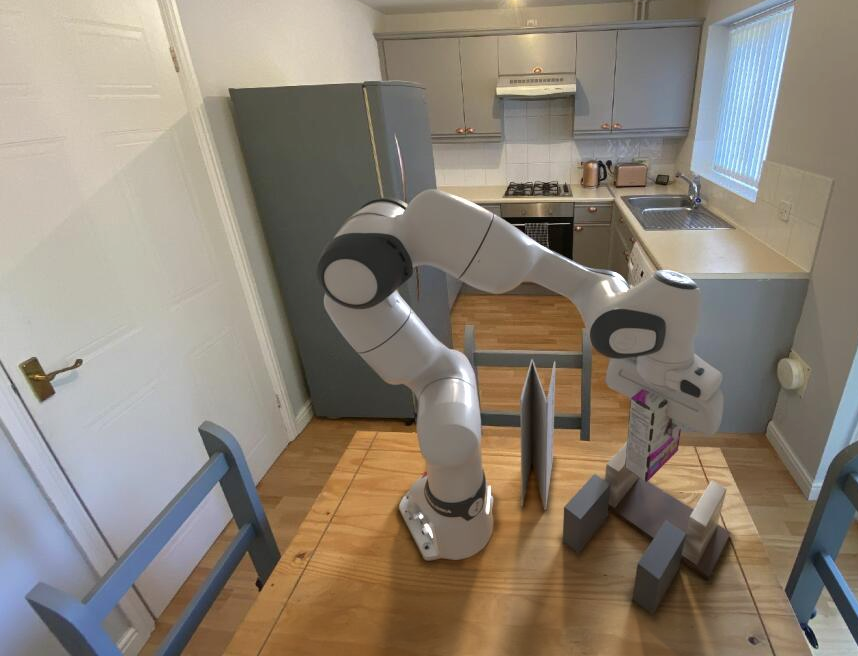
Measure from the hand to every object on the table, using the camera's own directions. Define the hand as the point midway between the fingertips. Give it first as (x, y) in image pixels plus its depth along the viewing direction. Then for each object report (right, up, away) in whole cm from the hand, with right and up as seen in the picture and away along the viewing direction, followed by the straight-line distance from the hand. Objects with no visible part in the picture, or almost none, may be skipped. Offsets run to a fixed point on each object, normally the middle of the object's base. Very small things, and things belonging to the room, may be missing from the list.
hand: (655, 426), depth 76 cm
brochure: (-20, -23, +24) cm, 39 cm away
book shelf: (+6, -26, +15) cm, 30 cm away
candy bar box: (0, -8, +3) cm, 8 cm away
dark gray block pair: (-5, -29, +8) cm, 30 cm away
